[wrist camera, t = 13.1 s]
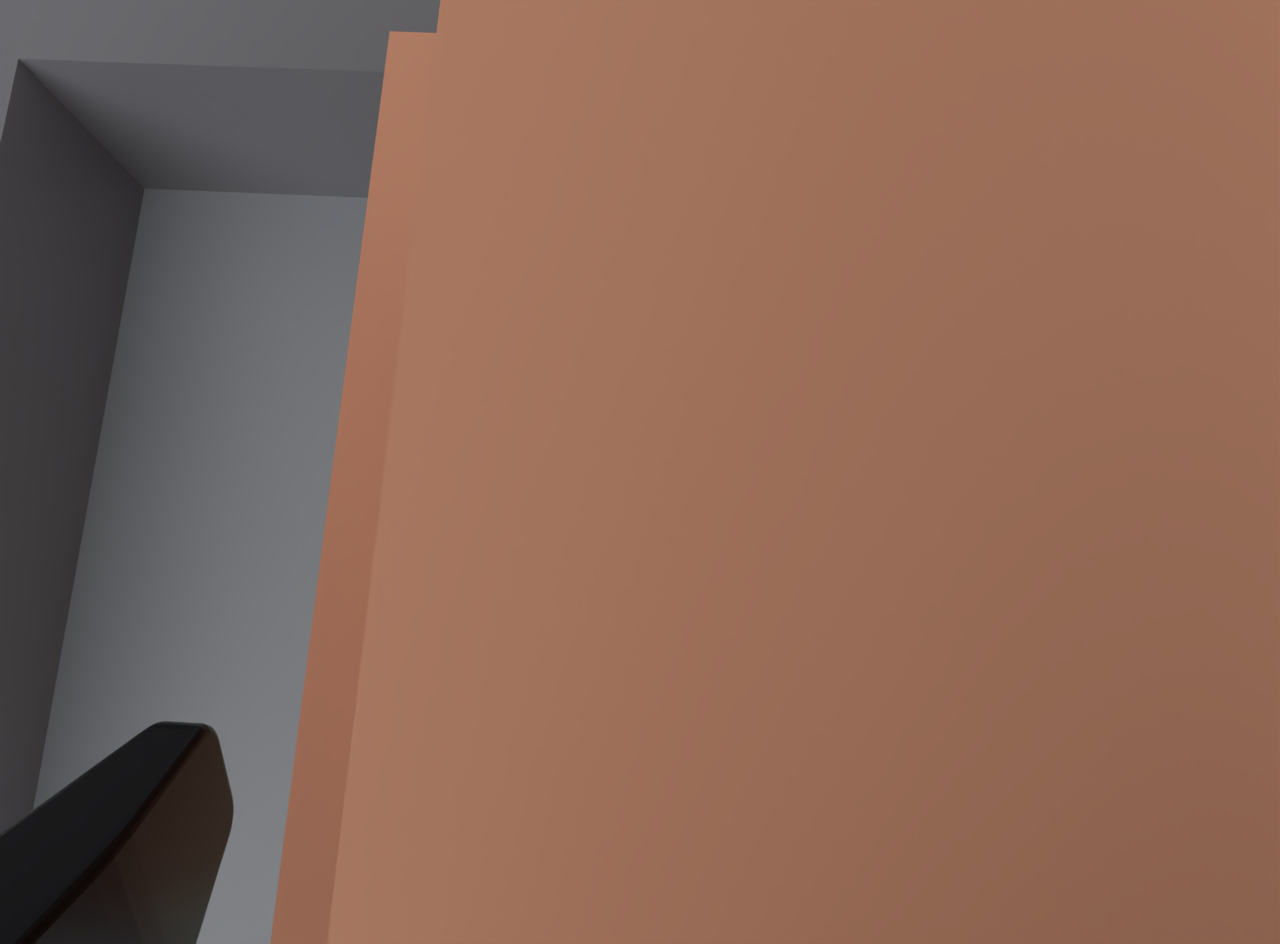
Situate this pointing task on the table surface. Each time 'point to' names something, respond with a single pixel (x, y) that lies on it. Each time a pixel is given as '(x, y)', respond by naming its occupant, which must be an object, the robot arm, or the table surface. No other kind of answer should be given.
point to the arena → (175, 381)
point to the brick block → (805, 483)
